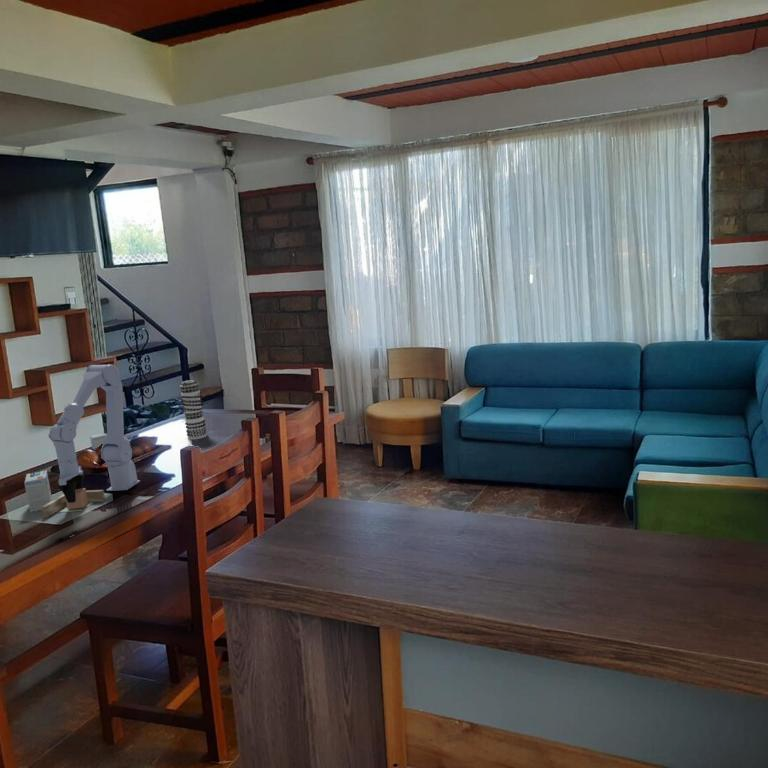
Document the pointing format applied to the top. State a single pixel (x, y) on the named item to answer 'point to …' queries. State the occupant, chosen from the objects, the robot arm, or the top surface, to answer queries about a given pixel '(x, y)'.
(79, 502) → the cube
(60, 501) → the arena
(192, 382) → the decorative candle
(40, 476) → the light bulb box
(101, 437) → the skincare box
